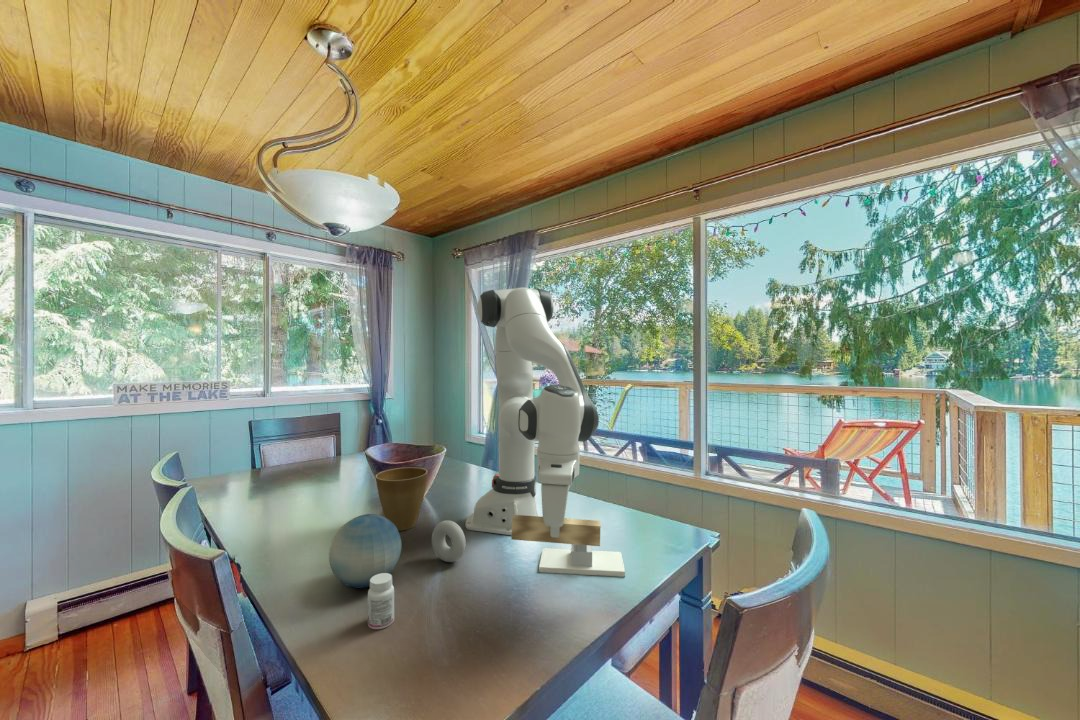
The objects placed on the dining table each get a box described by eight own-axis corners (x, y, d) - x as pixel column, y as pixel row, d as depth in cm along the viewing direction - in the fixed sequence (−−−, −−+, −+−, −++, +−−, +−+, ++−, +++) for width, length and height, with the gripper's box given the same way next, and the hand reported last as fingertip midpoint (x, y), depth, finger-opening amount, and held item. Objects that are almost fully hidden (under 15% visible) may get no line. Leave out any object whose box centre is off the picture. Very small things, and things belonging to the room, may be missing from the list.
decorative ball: (400, 596, 89) (400, 525, 89) (321, 607, 84) (322, 533, 84) (402, 563, 103) (402, 502, 103) (335, 571, 99) (335, 508, 99)
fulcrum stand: (539, 572, 99) (539, 542, 99) (543, 552, 109) (543, 525, 109) (625, 576, 97) (625, 546, 97) (621, 556, 107) (621, 529, 107)
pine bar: (511, 539, 86) (512, 519, 86) (513, 533, 89) (514, 514, 89) (599, 546, 84) (600, 526, 84) (599, 540, 87) (599, 520, 87)
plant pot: (425, 514, 135) (426, 465, 136) (428, 532, 121) (429, 477, 121) (376, 520, 131) (376, 468, 131) (373, 539, 117) (374, 481, 117)
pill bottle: (372, 615, 82) (372, 572, 82) (397, 614, 82) (397, 571, 82) (363, 631, 77) (364, 585, 77) (390, 629, 77) (390, 584, 78)
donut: (468, 563, 103) (468, 522, 103) (459, 569, 100) (459, 527, 100) (438, 553, 108) (438, 515, 108) (428, 559, 105) (428, 519, 105)
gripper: (547, 453, 97) (545, 512, 97) (537, 476, 77) (534, 552, 77) (574, 454, 96) (572, 514, 96) (571, 479, 76) (569, 555, 76)
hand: (555, 531), depth 86 cm, fingers closed on pine bar, 3 cm apart
